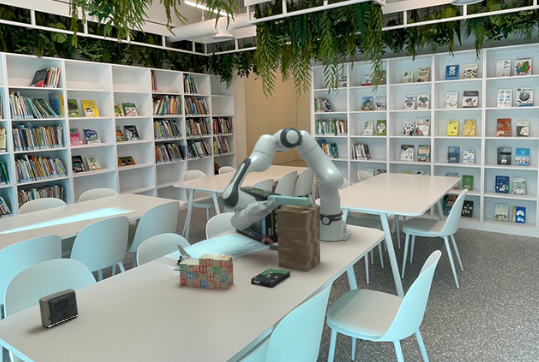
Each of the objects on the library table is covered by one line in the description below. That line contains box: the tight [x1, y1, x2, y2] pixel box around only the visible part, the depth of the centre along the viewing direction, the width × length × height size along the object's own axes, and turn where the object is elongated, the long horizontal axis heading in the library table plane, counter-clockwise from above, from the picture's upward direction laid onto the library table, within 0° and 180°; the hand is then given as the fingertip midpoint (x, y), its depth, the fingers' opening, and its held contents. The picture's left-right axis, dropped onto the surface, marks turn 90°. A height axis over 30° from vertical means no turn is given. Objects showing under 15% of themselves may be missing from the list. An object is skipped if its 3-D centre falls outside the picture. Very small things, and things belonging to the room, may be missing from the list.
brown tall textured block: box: [276, 201, 321, 272], centre depth 196 cm, size 15×15×28 cm
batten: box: [268, 195, 311, 206], centre depth 197 cm, size 4×20×3 cm, turn 58°
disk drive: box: [250, 267, 291, 289], centre depth 181 cm, size 10×3×15 cm
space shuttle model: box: [174, 244, 199, 271], centre depth 199 cm, size 16×25×10 cm, turn 66°
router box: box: [234, 185, 282, 246], centre depth 245 cm, size 36×11×27 cm, turn 32°
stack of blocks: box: [178, 253, 234, 290], centre depth 177 cm, size 21×6×12 cm, turn 73°
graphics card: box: [268, 243, 278, 252], centre depth 229 cm, size 10×3×25 cm
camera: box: [38, 288, 79, 328], centre depth 148 cm, size 11×6×10 cm, turn 140°
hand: (278, 198), depth 199 cm, fingers closed on batten, 4 cm apart
